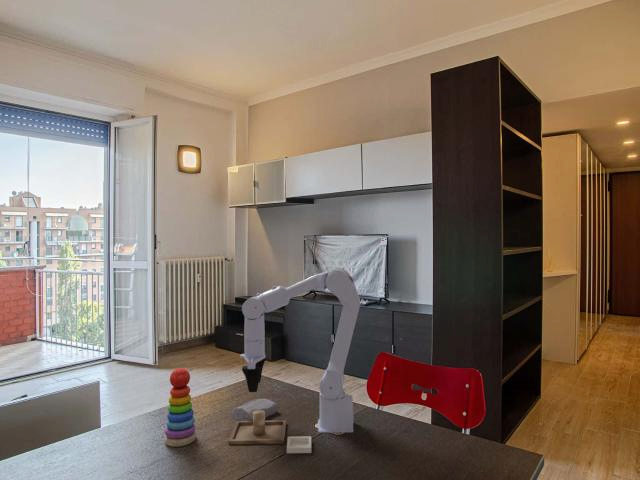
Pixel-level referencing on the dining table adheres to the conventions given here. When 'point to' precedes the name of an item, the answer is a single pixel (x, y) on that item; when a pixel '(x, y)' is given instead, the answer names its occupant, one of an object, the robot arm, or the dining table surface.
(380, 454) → the dining table surface
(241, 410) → the stone block
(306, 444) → the holder
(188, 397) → the stacking toy
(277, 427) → the tray
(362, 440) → the dining table surface
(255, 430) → the dowel
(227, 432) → the dining table surface
